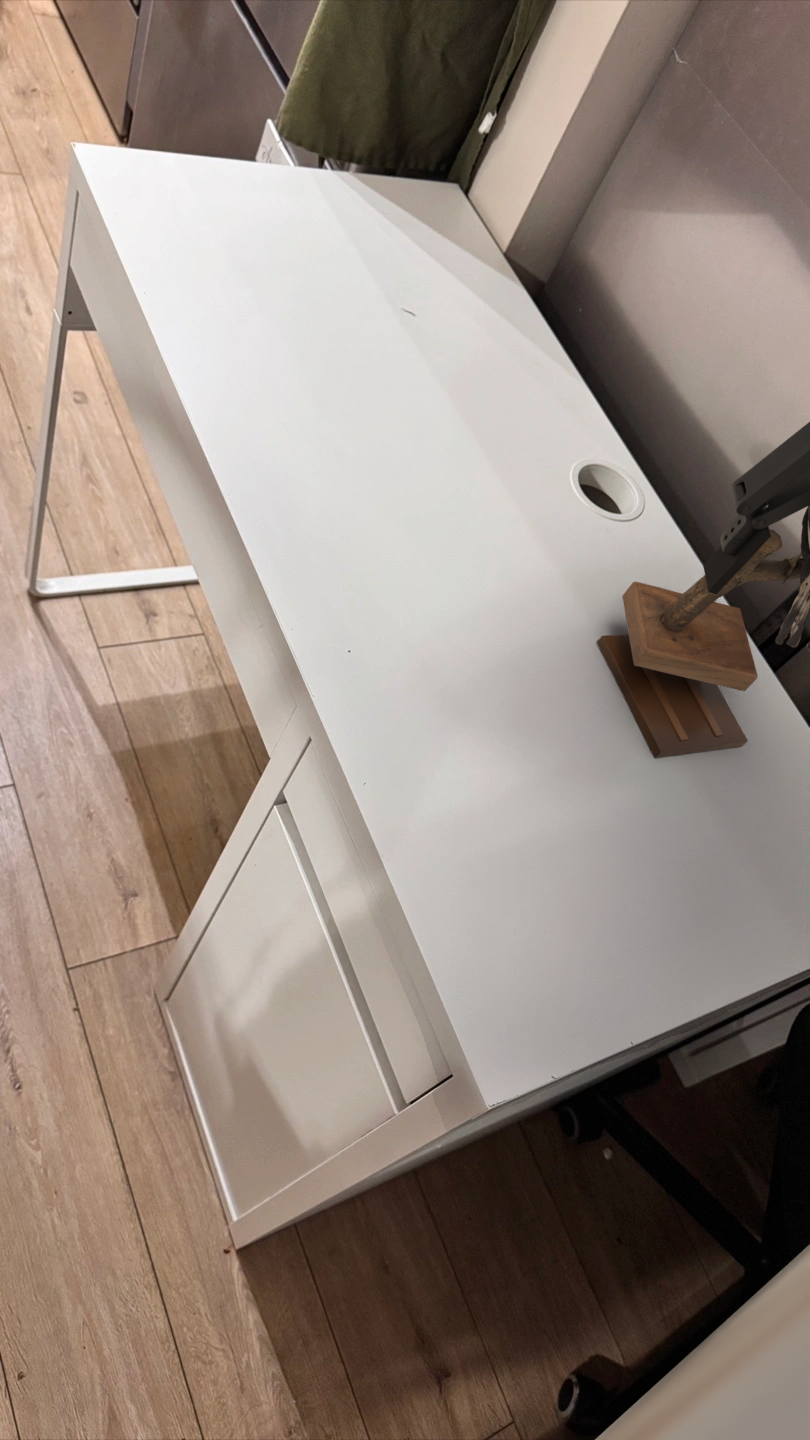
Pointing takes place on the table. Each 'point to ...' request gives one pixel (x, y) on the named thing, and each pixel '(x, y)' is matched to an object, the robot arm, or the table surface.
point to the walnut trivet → (671, 705)
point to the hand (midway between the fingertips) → (764, 597)
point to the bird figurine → (713, 620)
